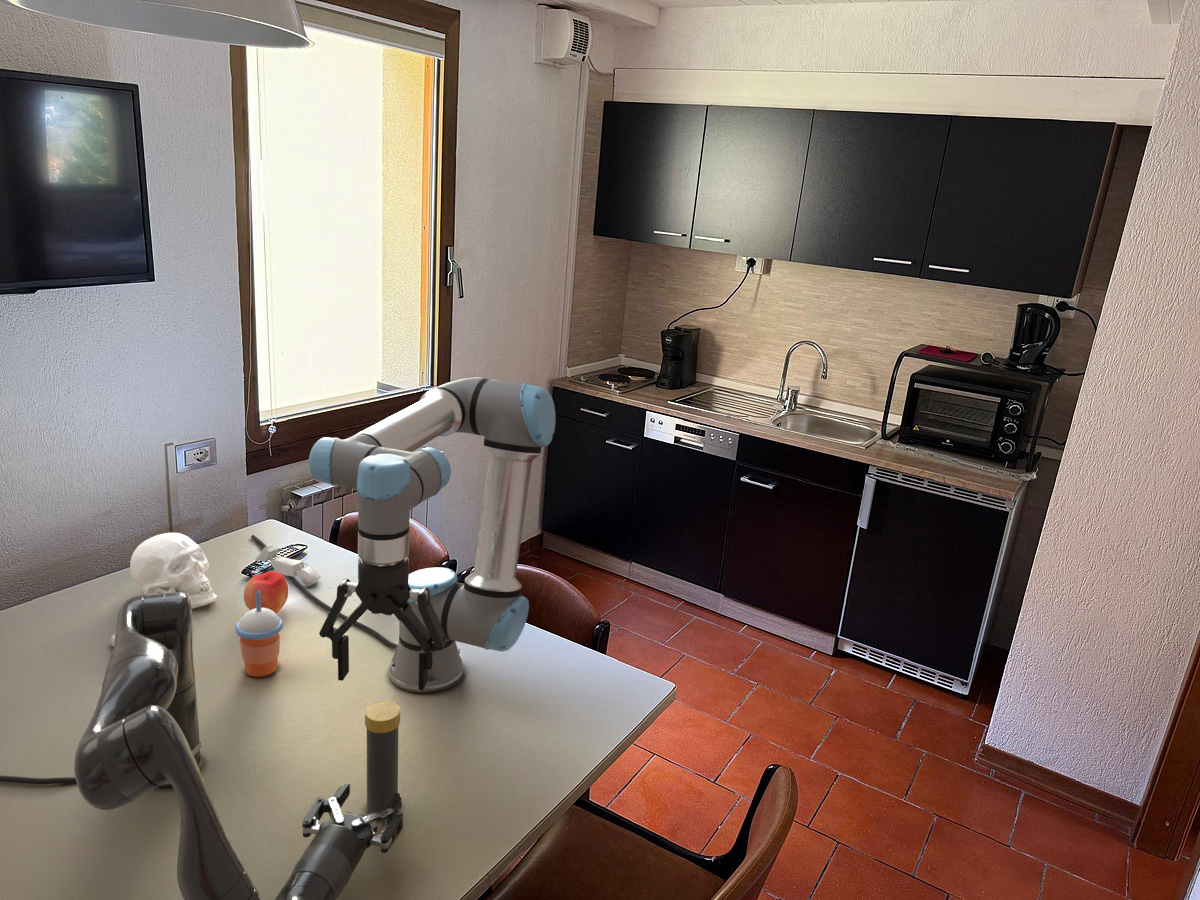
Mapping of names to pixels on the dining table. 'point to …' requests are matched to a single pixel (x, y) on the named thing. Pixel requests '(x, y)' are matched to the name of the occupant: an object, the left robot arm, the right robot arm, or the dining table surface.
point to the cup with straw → (259, 639)
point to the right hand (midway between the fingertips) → (383, 680)
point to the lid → (382, 717)
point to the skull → (172, 568)
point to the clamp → (288, 565)
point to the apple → (267, 591)
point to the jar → (381, 769)
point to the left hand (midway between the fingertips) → (372, 792)
